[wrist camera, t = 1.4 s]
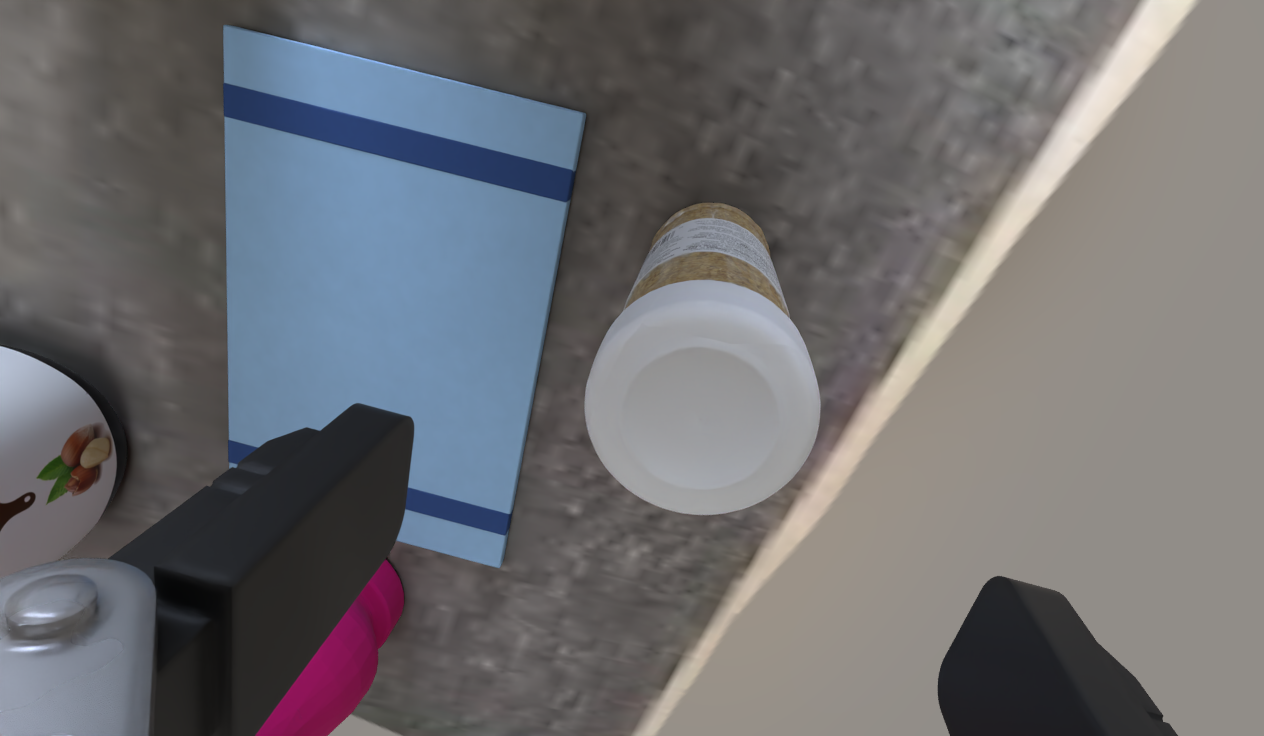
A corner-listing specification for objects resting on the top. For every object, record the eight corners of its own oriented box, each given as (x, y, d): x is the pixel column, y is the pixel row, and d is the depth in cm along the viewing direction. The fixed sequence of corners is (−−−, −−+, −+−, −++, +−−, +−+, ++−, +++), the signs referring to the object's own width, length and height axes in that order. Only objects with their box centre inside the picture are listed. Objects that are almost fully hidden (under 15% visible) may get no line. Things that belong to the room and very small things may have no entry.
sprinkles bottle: (704, 342, 26) (691, 563, 14) (623, 257, 25) (530, 411, 13) (797, 263, 25) (876, 432, 12) (714, 170, 24) (708, 251, 11)
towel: (233, 25, 24) (221, 23, 23) (587, 113, 24) (583, 113, 23) (237, 489, 32) (228, 497, 31) (503, 560, 31) (499, 569, 31)
